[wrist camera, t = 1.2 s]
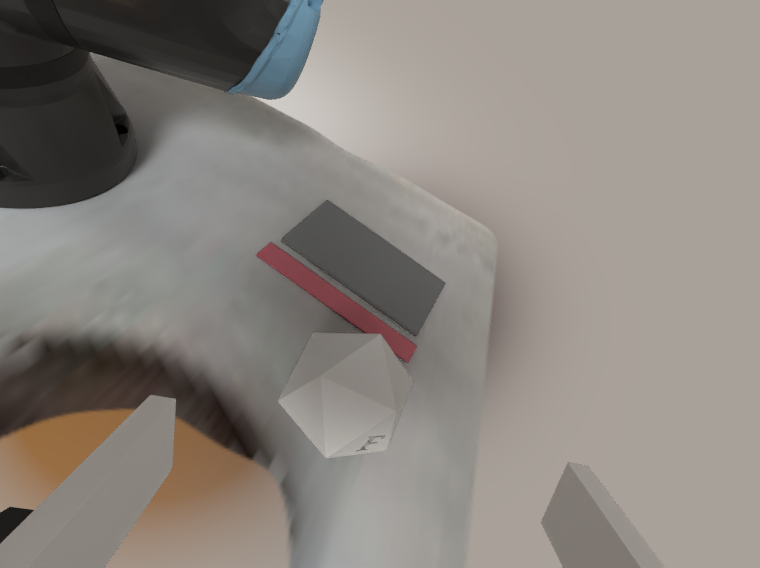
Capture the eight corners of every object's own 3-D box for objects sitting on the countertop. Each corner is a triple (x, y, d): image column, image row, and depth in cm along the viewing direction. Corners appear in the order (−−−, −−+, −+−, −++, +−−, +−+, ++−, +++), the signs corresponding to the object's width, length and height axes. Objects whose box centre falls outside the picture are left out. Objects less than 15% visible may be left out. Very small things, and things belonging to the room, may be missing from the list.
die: (251, 433, 25) (325, 499, 18) (278, 314, 26) (358, 330, 19) (343, 427, 30) (428, 477, 23) (362, 329, 31) (449, 346, 24)
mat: (281, 240, 34) (281, 238, 34) (326, 202, 39) (327, 199, 39) (415, 336, 34) (417, 334, 34) (443, 284, 39) (445, 283, 39)
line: (256, 255, 32) (256, 254, 32) (270, 243, 34) (270, 242, 33) (407, 363, 32) (408, 362, 32) (416, 346, 33) (416, 346, 33)
